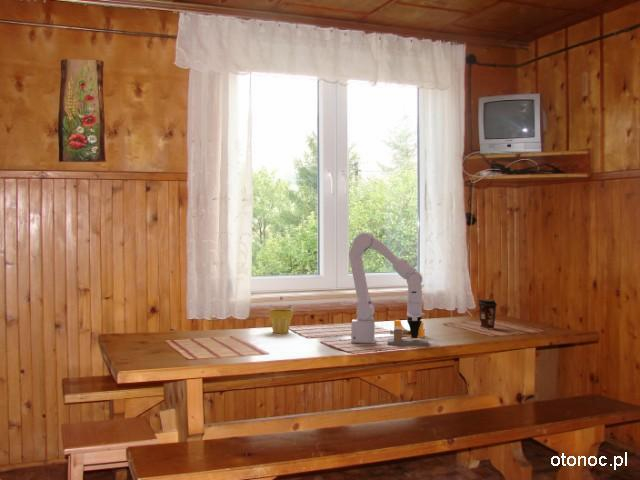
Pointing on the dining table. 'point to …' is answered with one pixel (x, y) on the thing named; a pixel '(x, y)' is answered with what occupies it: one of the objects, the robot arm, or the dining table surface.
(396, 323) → the pipe clamp
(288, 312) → the plant pot
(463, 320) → the dining table surface
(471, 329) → the dining table surface
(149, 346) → the dining table surface
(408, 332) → the pin
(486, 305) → the coffee cup
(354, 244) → the robot arm
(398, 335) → the eye block
